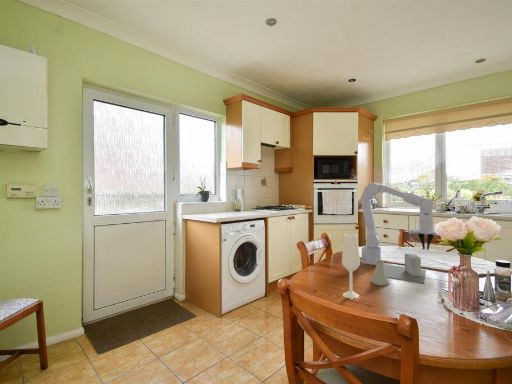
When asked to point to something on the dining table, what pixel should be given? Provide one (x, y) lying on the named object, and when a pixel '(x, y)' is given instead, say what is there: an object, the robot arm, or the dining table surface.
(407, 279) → the mat
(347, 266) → the champagne flute
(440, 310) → the dining table surface
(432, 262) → the dining table surface
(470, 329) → the dining table surface
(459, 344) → the dining table surface
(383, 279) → the flask
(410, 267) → the medicine box
